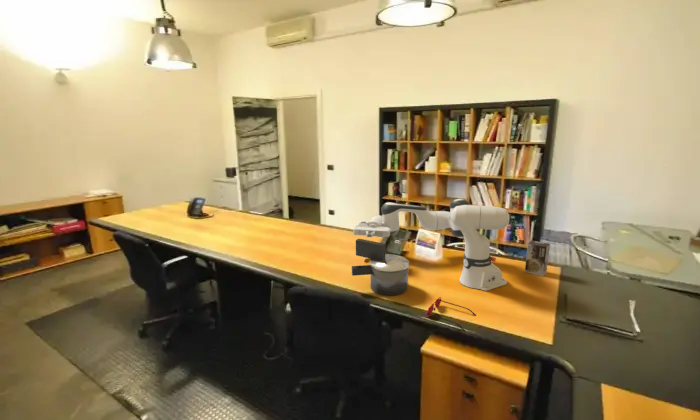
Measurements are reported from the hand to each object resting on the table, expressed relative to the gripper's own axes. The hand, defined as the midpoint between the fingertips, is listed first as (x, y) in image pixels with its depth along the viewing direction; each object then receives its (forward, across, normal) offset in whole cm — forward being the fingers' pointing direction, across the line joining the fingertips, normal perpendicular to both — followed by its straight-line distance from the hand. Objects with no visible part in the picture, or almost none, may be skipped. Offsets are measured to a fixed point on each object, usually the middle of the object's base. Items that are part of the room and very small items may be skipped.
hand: (369, 235), depth 183 cm
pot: (+20, -9, -19) cm, 29 cm away
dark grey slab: (+17, -9, -7) cm, 21 cm away
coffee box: (-14, -86, -19) cm, 89 cm away
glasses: (+39, -42, -20) cm, 60 cm away
